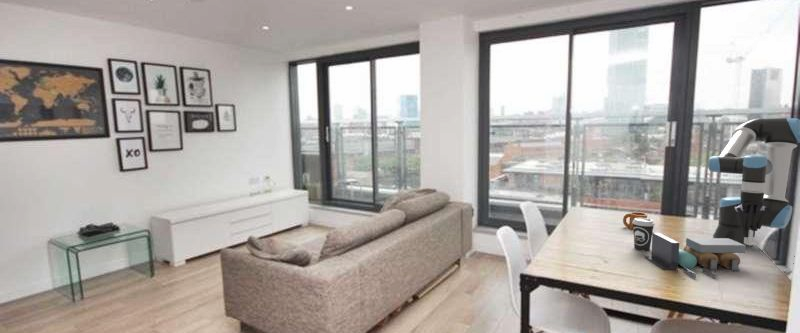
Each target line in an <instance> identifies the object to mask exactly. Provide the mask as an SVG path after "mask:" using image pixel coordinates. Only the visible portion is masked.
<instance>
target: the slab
mask: <svg viewBox="0 0 800 333" xmlns="http://www.w3.org/2000/svg"><path fill="white" fill-rule="evenodd" d="M685 239H686V240H685V246H688V247H690V248H692V249H694V250H696V251H698V252H700V253H733V254H746V248H747V245H744V244H741V243H739V242H736V241H734V240H731V239H729V238H713V237H686V238H685Z"/></svg>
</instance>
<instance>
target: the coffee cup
mask: <svg viewBox="0 0 800 333" xmlns="http://www.w3.org/2000/svg"><path fill="white" fill-rule="evenodd" d="M632 223H633V229H634V230H633V229H632V230H633V246H634V249H635V250H637V251H639V252H640V251H641V252H649V251H650V250H651V246H652V233H654V232H653V231H654V227H655V225H656V224H655V221H654V220H653V219H651V218H648V217H647V218H634V220H633V222H632Z"/></svg>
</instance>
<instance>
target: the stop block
mask: <svg viewBox="0 0 800 333" xmlns="http://www.w3.org/2000/svg"><path fill="white" fill-rule="evenodd" d="M679 248H680V242H679V241H676V240H674V239H673V238H671V237H669V236H667V235H665V234H663V233H660V232H652V239H651V255H644V257H643V258H644V259H646V260H647V261H649V262H650V263H652V264H653V265H655V266H656V267H658V268H659V269H661V270H662V271H665V270H666V271H678V268H679V264H678V257H679Z"/></svg>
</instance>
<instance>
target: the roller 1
mask: <svg viewBox="0 0 800 333" xmlns="http://www.w3.org/2000/svg"><path fill="white" fill-rule="evenodd" d="M696 263H697V259H696V257H695V256H693V255H691V254H689V253H688V252H686V251H684V250H683V249H681V248H680V247H679V257H678V266H681V267H682V268H683V267H686V268H687V269H689V270H691V269H693V268H695V267H694V266H695V265H696ZM697 264H698V263H697Z"/></svg>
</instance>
